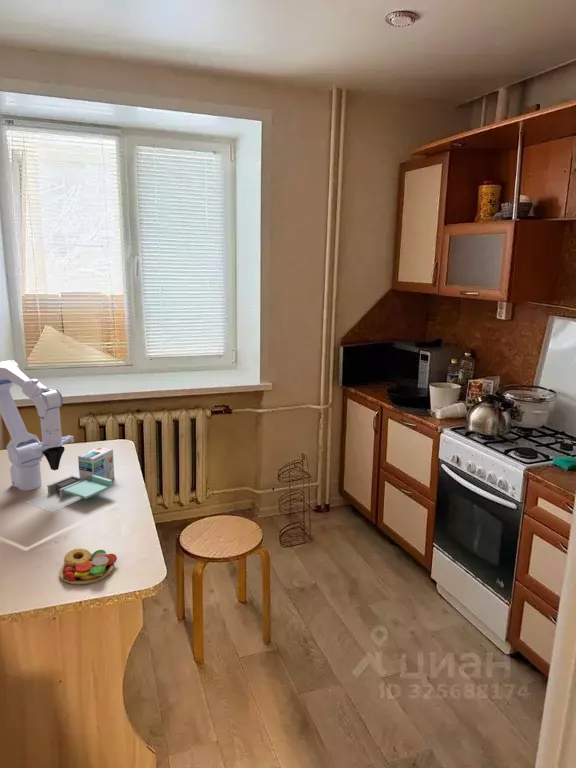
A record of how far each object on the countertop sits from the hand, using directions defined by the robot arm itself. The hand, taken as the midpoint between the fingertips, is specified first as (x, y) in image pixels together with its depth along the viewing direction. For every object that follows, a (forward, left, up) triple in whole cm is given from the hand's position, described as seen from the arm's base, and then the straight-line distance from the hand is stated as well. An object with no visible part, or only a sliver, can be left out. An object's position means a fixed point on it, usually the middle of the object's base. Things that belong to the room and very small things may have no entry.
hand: (54, 469), depth 173 cm
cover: (+10, +4, -6) cm, 13 cm away
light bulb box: (+1, +16, -10) cm, 19 cm away
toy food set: (+42, -24, -10) cm, 49 cm away
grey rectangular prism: (0, +4, -9) cm, 10 cm away
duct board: (+2, 0, -10) cm, 10 cm away
